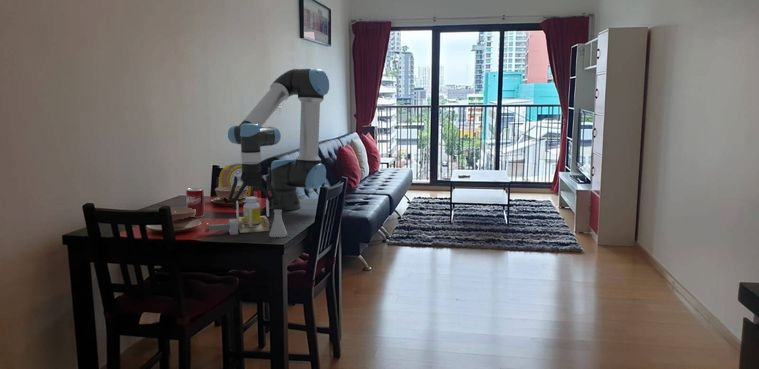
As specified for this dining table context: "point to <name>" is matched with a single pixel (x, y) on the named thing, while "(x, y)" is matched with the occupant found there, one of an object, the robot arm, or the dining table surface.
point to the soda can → (196, 201)
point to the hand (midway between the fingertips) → (252, 216)
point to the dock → (263, 227)
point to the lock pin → (217, 227)
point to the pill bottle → (251, 212)
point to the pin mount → (233, 226)
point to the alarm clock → (231, 176)
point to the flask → (278, 226)
